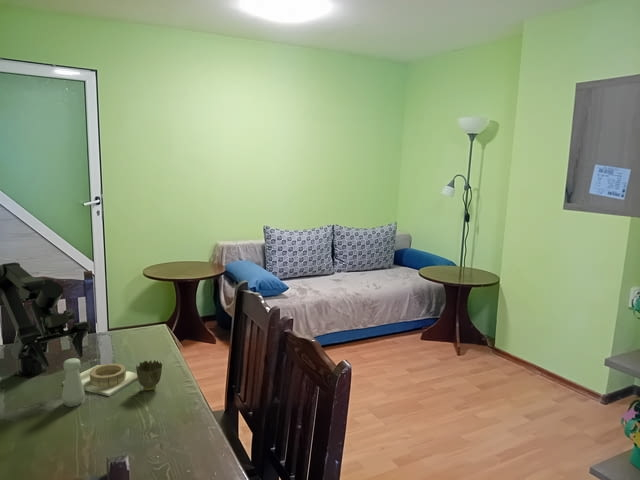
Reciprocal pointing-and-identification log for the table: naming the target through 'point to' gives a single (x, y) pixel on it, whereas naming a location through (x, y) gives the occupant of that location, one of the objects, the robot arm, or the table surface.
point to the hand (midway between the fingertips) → (65, 361)
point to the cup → (149, 374)
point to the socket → (107, 378)
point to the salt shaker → (72, 383)
